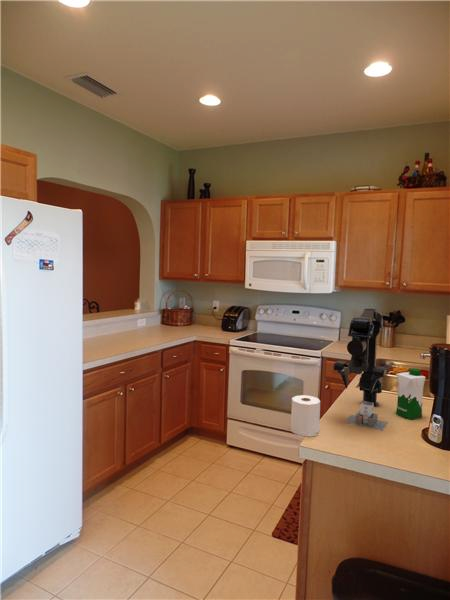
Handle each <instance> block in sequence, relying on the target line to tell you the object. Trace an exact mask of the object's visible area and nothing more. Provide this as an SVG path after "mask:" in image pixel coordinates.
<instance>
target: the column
mask: <svg viewBox="0 0 450 600" xmlns="http://www.w3.org/2000/svg"><path fill="white" fill-rule="evenodd" d="M362 401H363V400H362ZM362 401H361V402H362ZM361 402H360V410H359V411H360V416H363V419H362V423H363V424H365V425H366V424H367V418H368V417H369V418H372V417H373V413H374V408H375V407H374V403H372V402H367V401H363V402H362V403H361Z"/></svg>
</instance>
